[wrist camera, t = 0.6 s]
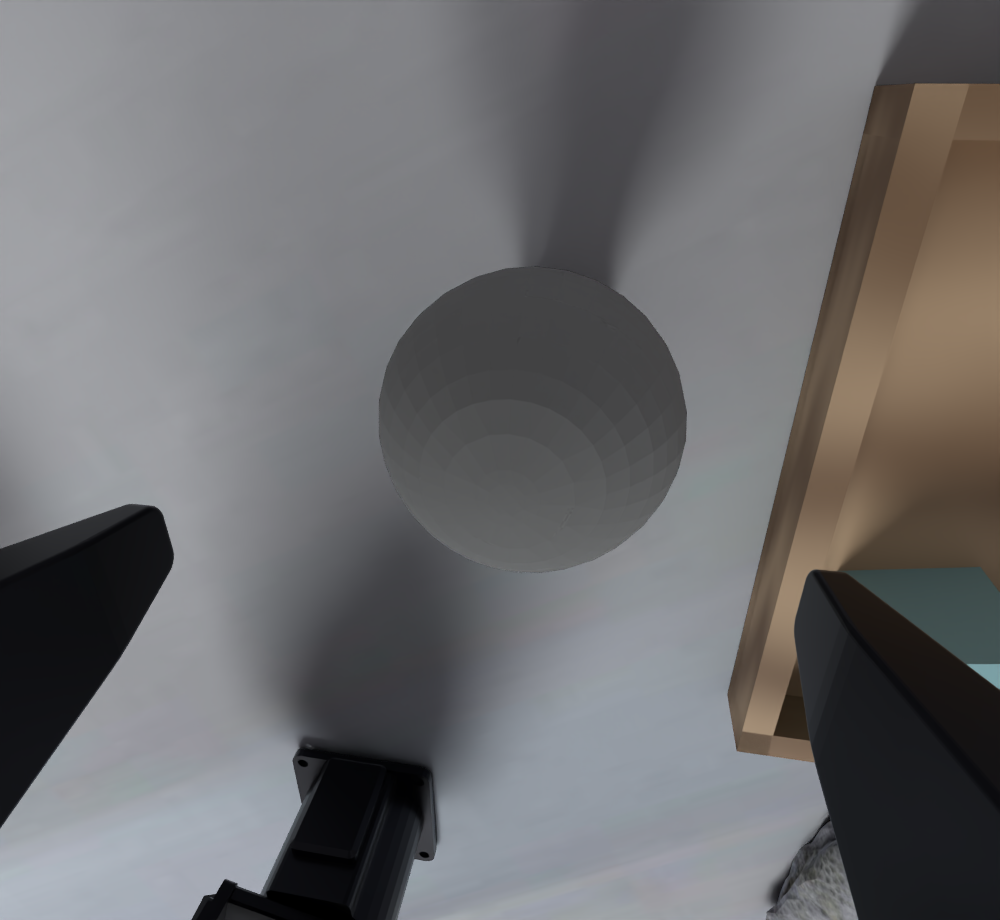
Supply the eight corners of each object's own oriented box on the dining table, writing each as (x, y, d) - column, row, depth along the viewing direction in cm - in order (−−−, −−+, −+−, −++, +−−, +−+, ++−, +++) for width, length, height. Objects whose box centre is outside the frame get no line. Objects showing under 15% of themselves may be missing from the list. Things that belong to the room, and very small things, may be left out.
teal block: (960, 665, 22) (1023, 770, 18) (829, 664, 23) (865, 765, 19) (980, 566, 20) (1054, 664, 17) (837, 570, 21) (878, 664, 18)
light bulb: (656, 192, 17) (684, 285, 9) (675, 402, 20) (712, 635, 11) (439, 234, 19) (277, 349, 10) (483, 424, 21) (385, 647, 13)
